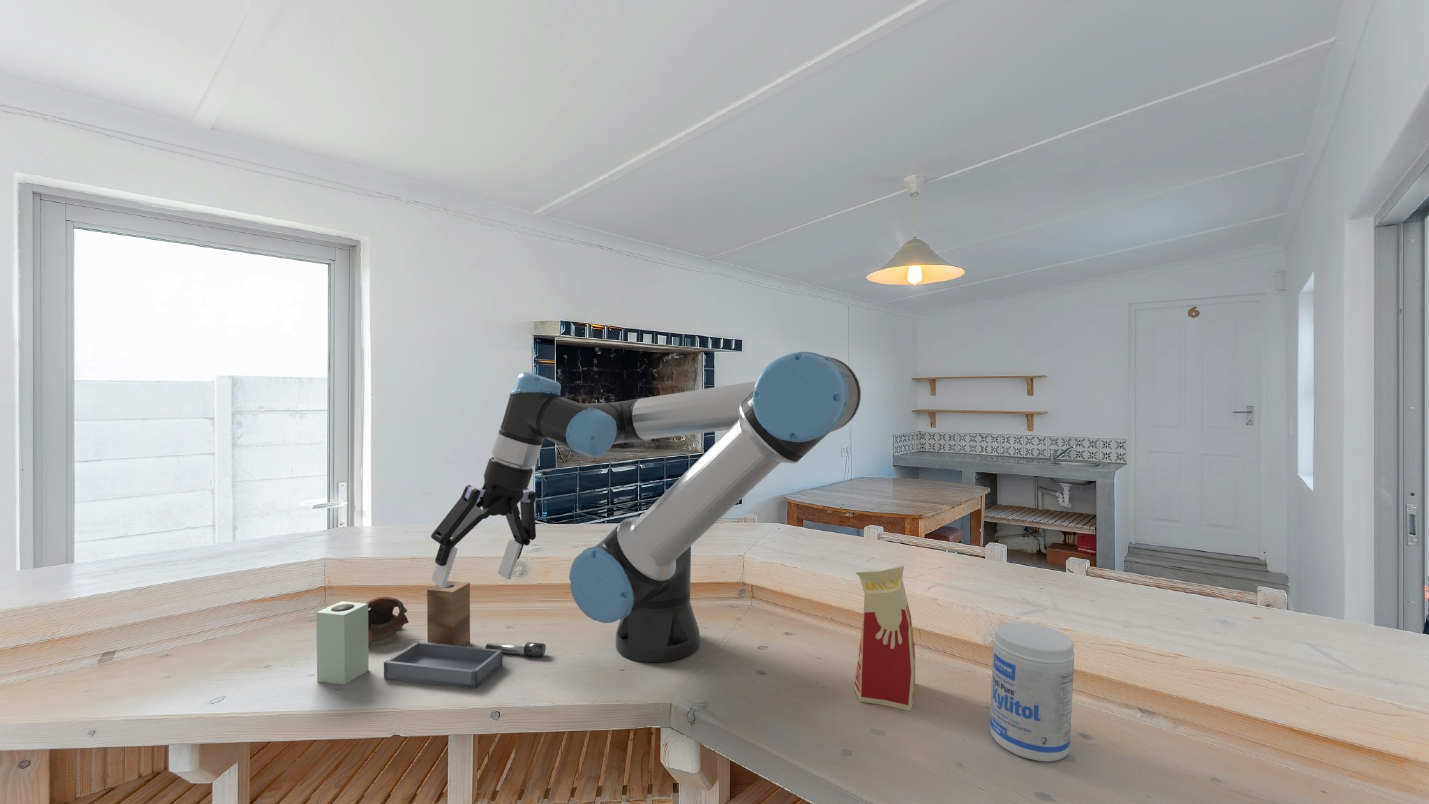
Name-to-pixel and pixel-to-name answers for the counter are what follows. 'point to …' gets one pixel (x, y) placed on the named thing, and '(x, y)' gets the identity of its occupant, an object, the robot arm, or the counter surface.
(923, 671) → the counter surface
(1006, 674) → the supplement tub
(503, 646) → the rod
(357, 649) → the sage block
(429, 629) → the walnut block
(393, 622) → the pottery mug
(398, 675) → the slate tray
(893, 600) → the milk carton
